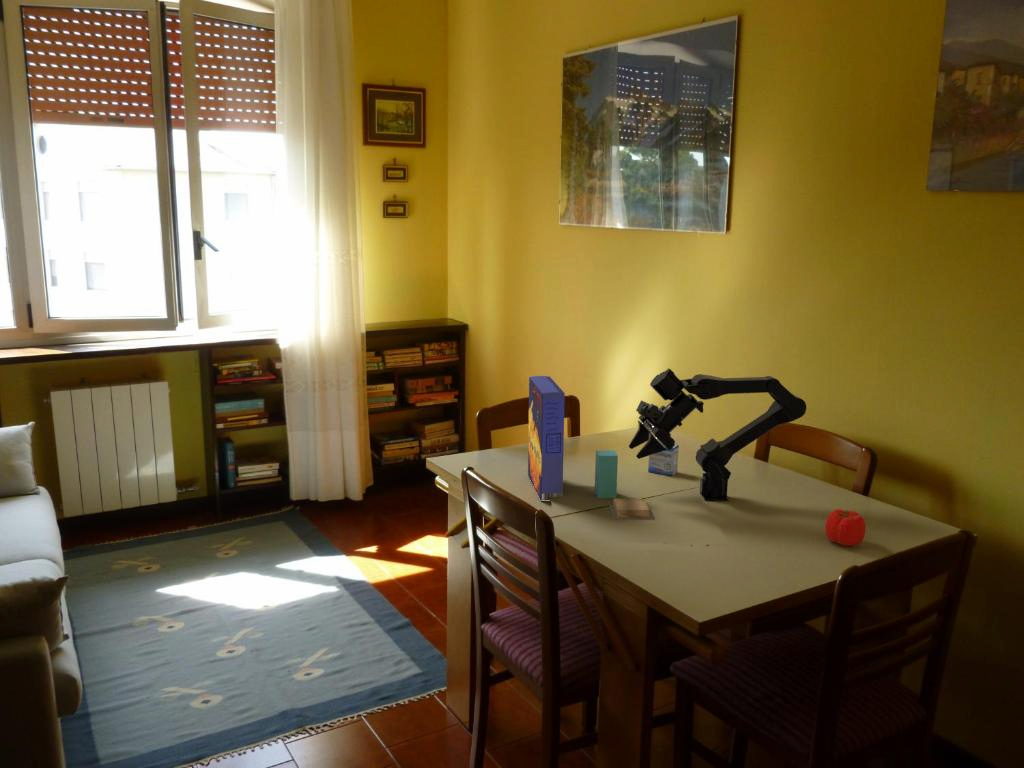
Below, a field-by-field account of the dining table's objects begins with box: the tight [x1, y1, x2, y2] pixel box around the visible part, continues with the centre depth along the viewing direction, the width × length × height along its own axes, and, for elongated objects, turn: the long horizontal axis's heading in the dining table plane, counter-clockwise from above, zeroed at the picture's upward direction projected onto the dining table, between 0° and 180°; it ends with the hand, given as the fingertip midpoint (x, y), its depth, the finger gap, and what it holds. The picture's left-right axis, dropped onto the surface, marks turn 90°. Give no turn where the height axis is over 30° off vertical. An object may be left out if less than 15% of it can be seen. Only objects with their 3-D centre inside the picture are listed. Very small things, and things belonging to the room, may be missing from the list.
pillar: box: [594, 449, 619, 499], centre depth 228 cm, size 5×5×13 cm
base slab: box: [608, 504, 654, 520], centre depth 216 cm, size 10×10×2 cm
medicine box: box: [647, 444, 680, 477], centre depth 252 cm, size 8×4×9 cm, turn 62°
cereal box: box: [527, 375, 566, 501], centre depth 235 cm, size 22×6×30 cm, turn 8°
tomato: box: [824, 508, 867, 547], centre depth 200 cm, size 9×9×8 cm
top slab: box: [612, 498, 651, 517], centre depth 216 cm, size 8×8×2 cm
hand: (633, 452), depth 227 cm, fingers open, 9 cm apart
